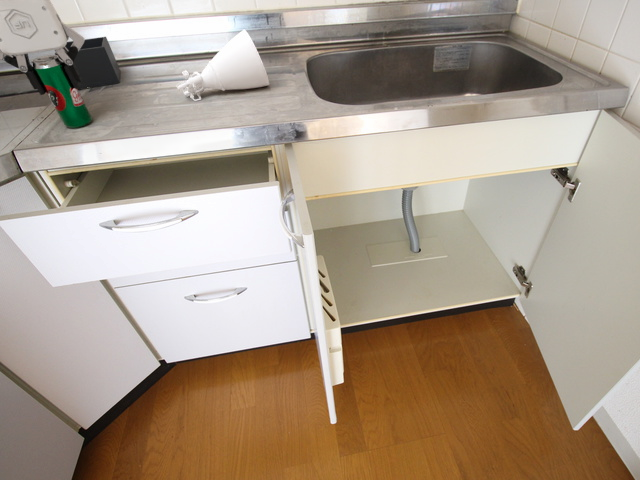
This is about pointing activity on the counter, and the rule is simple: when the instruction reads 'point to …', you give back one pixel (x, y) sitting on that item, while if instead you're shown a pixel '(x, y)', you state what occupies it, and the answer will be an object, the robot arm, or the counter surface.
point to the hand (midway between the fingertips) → (60, 88)
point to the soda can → (61, 91)
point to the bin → (96, 63)
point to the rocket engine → (229, 69)
